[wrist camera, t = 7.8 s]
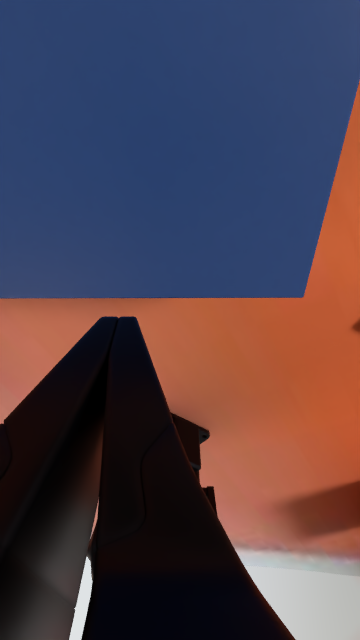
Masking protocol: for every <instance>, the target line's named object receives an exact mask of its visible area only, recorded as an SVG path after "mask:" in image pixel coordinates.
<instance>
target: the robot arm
mask: <svg viewBox="0 0 360 640" xmlns="http://www.w3.org/2000/svg"><path fill="white" fill-rule="evenodd" d="M209 437H210V434H209V431H208V430H206V429H204V428H202V427H200V426H198V425H196V424H194V423H192V422H190V421H187V420H185V419H183V418H181V417H179V416H177V415H175V414H173V413H171V412H170V410H169V407H168V404H167V402H166V399H165V396H164V393H163V391H162V388H161V385H160V382H159V380H158V377H157V374H156V371H155V368H154V366H153V363H152V360H151V357H150V355H149V352H148V349H147V346H146V343H145V341H144V338H143V335H142V332H141V330H140V327H139V324H138V321H137V319H136V317H120V318H118V317H101V318H100V319H99V320H98V321H97V322H96V323H95V324H94V325H93V326H92V327H91V328H90V330H89V331H88V332H87V333H86V334H85V335H84V336H83V337H82V338H81V339H80V340H79V341H78V342H77V343H76V344H75V345H74V347H73V348H72V349H71V350H70V351H69V352H68V353H67V354H66V355H65V356H64V357H63V358H62V359H61V360H60V361H59V362H58V364H57V365H56V366H55V367H54V368H53V369H52V370H51V371H50V372H49V373H48V374H47V375H46V376H45V377H44V378H43V379H42V381H41V382H40V383H39V384H38V385H37V386H36V387H35V388H34V389H33V390H32V391H31V392H30V393H29V394H28V395H27V396H26V398H25V399H24V400H23V401H22V402H21V403H20V404H19V405H18V406H17V407H16V408H15V409H14V410H13V411H12V412H11V413H10V415H9V416H8V417H7V418H6V419H5V420H4V424H0V640H69V636H70V632H71V627H72V623H73V618H74V613H75V609H74V608H75V607H76V603H77V598H78V593H79V589H80V584H81V579H82V574H83V570H84V565H85V560H86V556H87V557H88V558H89V560H90V561H91V574H92V580H93V583H92V591H91V598H90V602H89V607H88V612H87V616H86V621H85V625H84V630H83V635H82V639H81V640H295V638H294V637H293V636H292V634H291V633H290V632H289V630H288V629H287V628H286V626H285V625H284V624H283V622H282V621H281V620H280V618H279V617H278V615H277V614H276V613H275V611H274V610H273V609H272V607H271V606H270V605H269V604H268V602H267V601H266V599H265V598H264V597H263V595H262V594H261V592H260V591H259V590H258V588H257V586H256V585H255V583H254V582H253V580H252V578H251V577H250V575H249V574H248V572H247V570H246V569H245V567H244V565H243V563H242V562H241V560H240V558H239V556H238V555H237V553H236V551H235V549H234V547H233V545H232V544H231V542H230V540H229V538H228V536H227V534H226V532H225V530H224V528H223V527H222V525H221V523H220V521H219V519H218V517H217V510H216V502H215V495H214V487H213V486H207V488H202V487H201V485H200V479H199V470H200V469H201V459H200V444H201V443H203V442H204V441H205V440H207V439H208V438H209ZM98 499H99V505H98V519H97V523H96V526H95V529H94V532H93V534H92V537H91V532H92V527H93V522H94V518H95V513H96V508H97V503H98ZM90 537H91V539H90Z"/></svg>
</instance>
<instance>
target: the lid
mask: <svg viewBox="0 0 360 640" xmlns="http://www.w3.org/2000/svg"><path fill="white" fill-rule="evenodd" d="M359 80H360V0H0V298H302V297H304V293H305V289H306V285H307V281H308V277H309V273H310V270H311V266H312V262H313V258H314V254H315V250H316V246H317V243H318V239H319V235H320V231H321V227H322V223H323V219H324V216H325V212H326V208H327V204H328V200H329V196H330V192H331V188H332V185H333V181H334V177H335V173H336V169H337V165H338V161H339V158H340V154H341V150H342V146H343V142H344V138H345V134H346V131H347V127H348V123H349V119H350V115H351V111H352V107H353V103H354V100H355V96H356V92H357V88H358V84H359Z"/></svg>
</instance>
